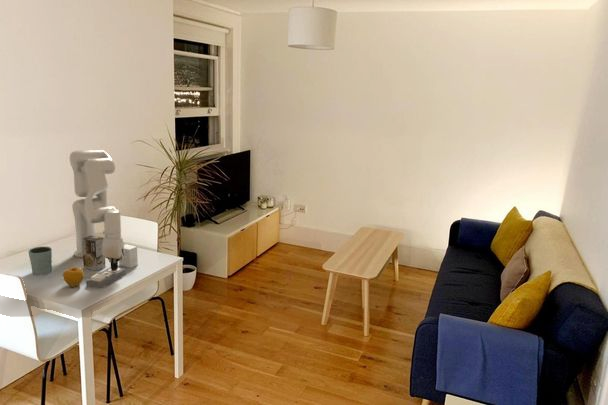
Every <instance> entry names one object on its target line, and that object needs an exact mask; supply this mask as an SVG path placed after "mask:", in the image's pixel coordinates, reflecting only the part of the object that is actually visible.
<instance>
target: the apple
mask: <svg viewBox="0 0 608 405" xmlns="http://www.w3.org/2000/svg"><path fill="white" fill-rule="evenodd" d="M84 277H85V272H84V270H83V269H82V268H81V267H70V268H67V269H65V271H64V272H63V275H62V278H63V281H64V282H65V284H67V285H68V286H70V287H71V288H75V287H78V286H79V285H81V283H82V281H84V280H83V279H84Z"/></svg>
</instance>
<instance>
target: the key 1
mask: <svg viewBox="0 0 608 405" xmlns="http://www.w3.org/2000/svg"><path fill="white" fill-rule="evenodd" d="M90 278H91V280H93V281H99V282H100V281H102V280H103V279H105V278H106V275H103V274H99V272H98V273H96V274H94V275H92V276H90Z"/></svg>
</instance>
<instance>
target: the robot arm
mask: <svg viewBox="0 0 608 405" xmlns="http://www.w3.org/2000/svg"><path fill="white" fill-rule="evenodd" d="M69 163H70V166H71V168H72V171H73V184H74V194H75V195H76V196H77V197H79V198H80V199H76V200H75V201H73V203H72V206H71V207H72V212H73V216H74V223H75V224H74V225H75V241H76V250H75V251H74V252H73V254H74V257H78V258H83V249H82V239H83V238H85V237H88V236H96V234H95V232H96V230H95V224H101V223H103V224H104V225H103V226H104V231H103V232H102V234H104V236H103V237H102V238H103V242H102V255H103V256H104V257H105V259H108V262H109V263H110V267H111V270H116V269H118V268H119V260H123V259H124V245H125V244H124V240H123V237H122V223H121V221H122V220H121V217H122V216H121V211H120V210H119V209H117V207H116V206H112V205H109V206H108V201H107V200H108V195H107V193H108V191H107V189H108V188H109V184H108V180H107V176H106V175H110V174H111V175H112V174H114V173H115V171H116V165H115V161H114V159H112V157H111V156H110V154H108V153H107V152H106V151H105V150H103V149H87V150H86V149H82V150H80V149H79V150H74V151H72V152H71V153H70V154H69Z"/></svg>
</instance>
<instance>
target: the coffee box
mask: <svg viewBox="0 0 608 405" xmlns="http://www.w3.org/2000/svg"><path fill="white" fill-rule="evenodd" d="M102 242H103V237H101V236H96V235H95V236H88V237H85V238H83V239H82V249H83V257H82V259H83V261H82V262H83V268H84V269H88V270H93V271H99V270H101V269H103V268H106V258H105V257H104V256H103V255H102Z"/></svg>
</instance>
